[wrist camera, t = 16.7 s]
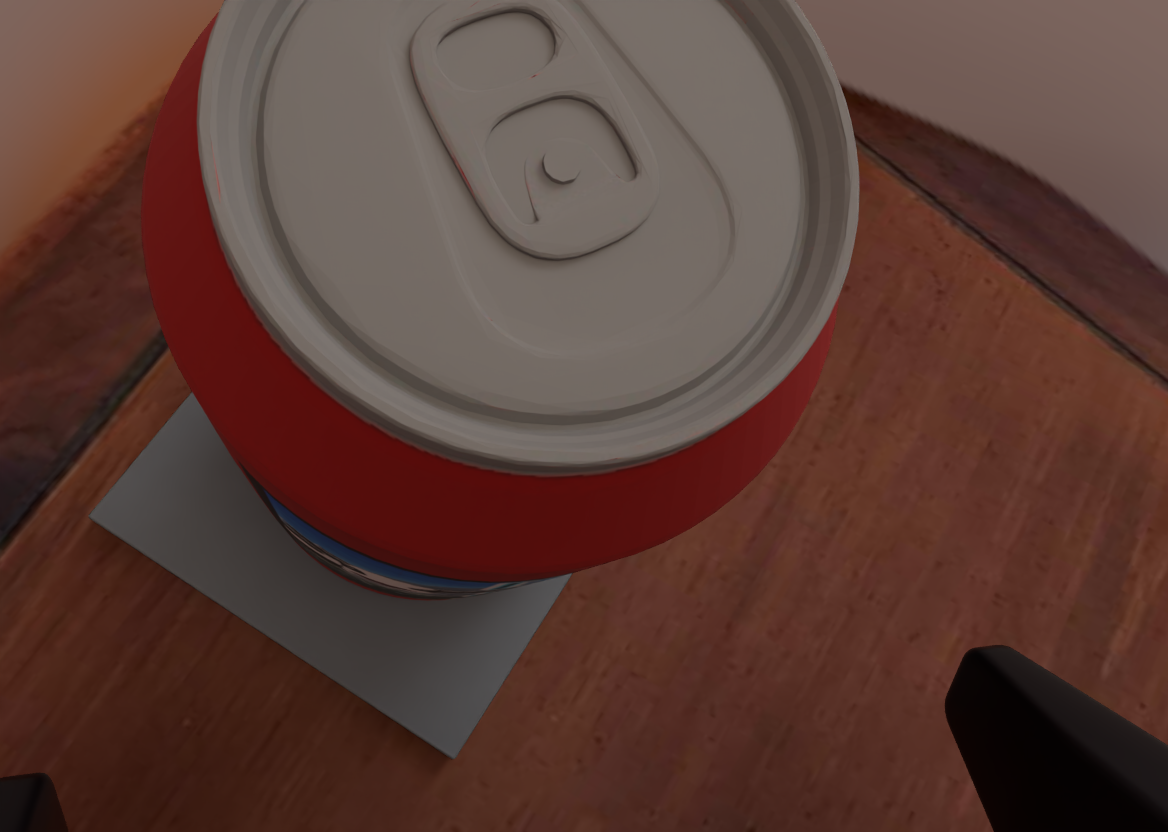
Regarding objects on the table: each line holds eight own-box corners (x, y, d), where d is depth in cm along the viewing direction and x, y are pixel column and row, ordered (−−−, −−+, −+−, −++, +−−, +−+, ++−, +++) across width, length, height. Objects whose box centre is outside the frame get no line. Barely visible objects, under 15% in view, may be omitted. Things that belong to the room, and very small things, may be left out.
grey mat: (452, 757, 18) (454, 760, 18) (91, 519, 18) (86, 516, 17) (710, 351, 21) (716, 346, 21) (411, 136, 21) (412, 127, 20)
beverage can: (353, 671, 18) (361, 753, 6) (188, 353, 18) (-81, -107, 7) (654, 500, 20) (1071, 328, 8) (498, 219, 20) (693, -305, 9)
